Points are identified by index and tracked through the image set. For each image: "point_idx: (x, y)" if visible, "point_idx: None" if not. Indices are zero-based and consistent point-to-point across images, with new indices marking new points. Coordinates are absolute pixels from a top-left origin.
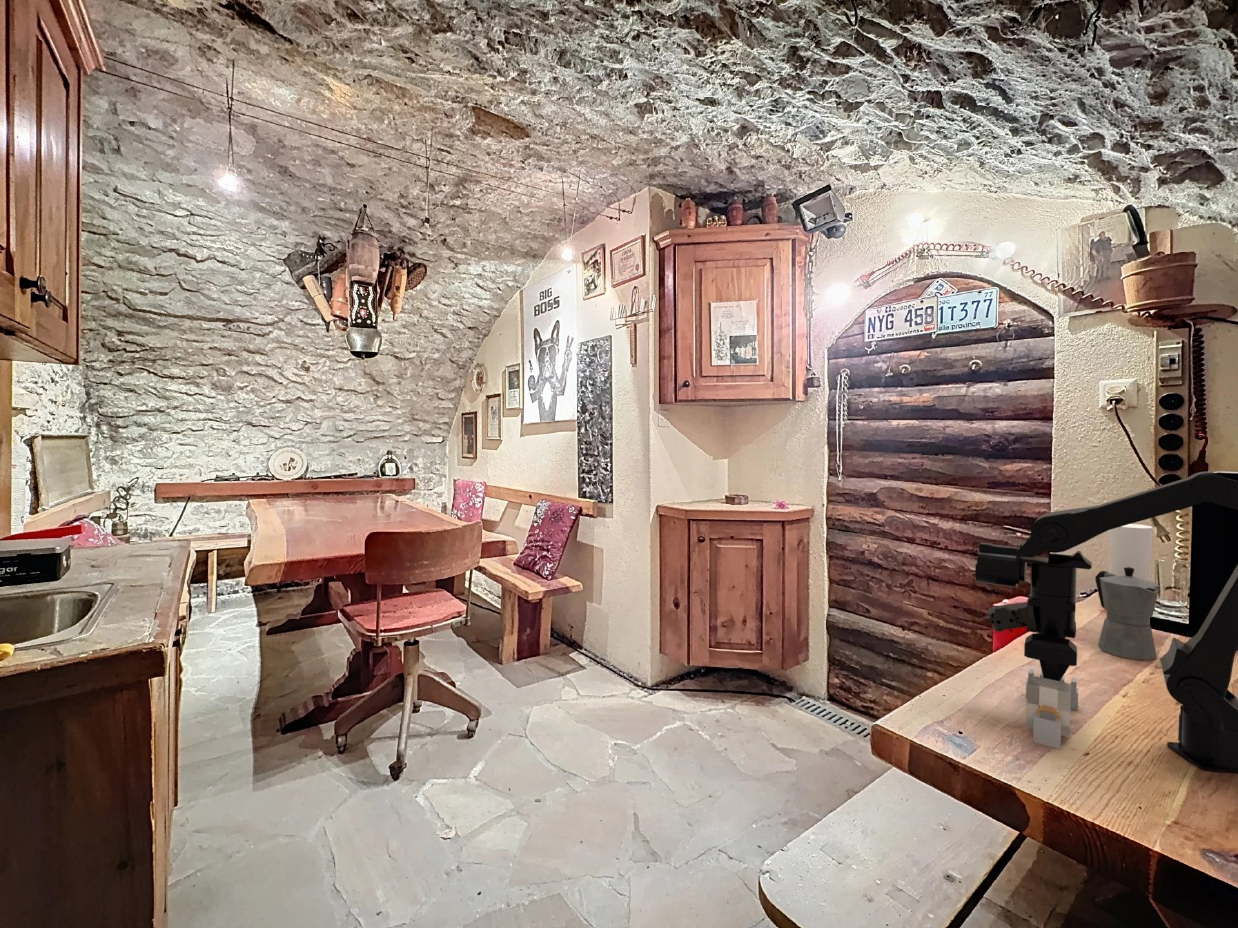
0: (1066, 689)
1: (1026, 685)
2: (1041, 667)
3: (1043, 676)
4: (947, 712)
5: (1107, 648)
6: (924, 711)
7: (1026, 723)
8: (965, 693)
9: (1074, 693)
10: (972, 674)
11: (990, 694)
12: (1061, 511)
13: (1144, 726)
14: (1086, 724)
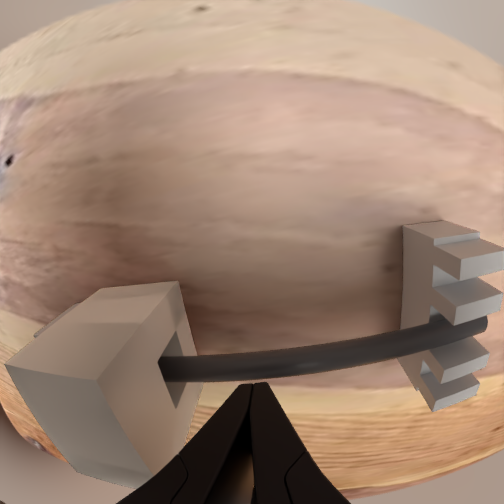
0: (90, 471)
1: (426, 236)
2: (165, 465)
3: (205, 424)
4: (78, 78)
5: None
6: (53, 49)
7: (95, 292)
8: (280, 44)
9: (416, 381)
10: (467, 54)
11: (347, 113)
12: None
13: (375, 447)
14: (304, 390)
